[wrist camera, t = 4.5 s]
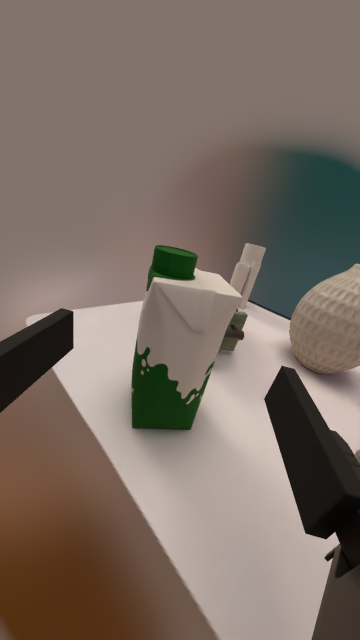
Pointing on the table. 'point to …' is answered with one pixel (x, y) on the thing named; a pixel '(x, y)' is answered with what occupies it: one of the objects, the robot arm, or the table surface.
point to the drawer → (234, 331)
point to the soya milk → (177, 339)
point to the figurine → (358, 455)
